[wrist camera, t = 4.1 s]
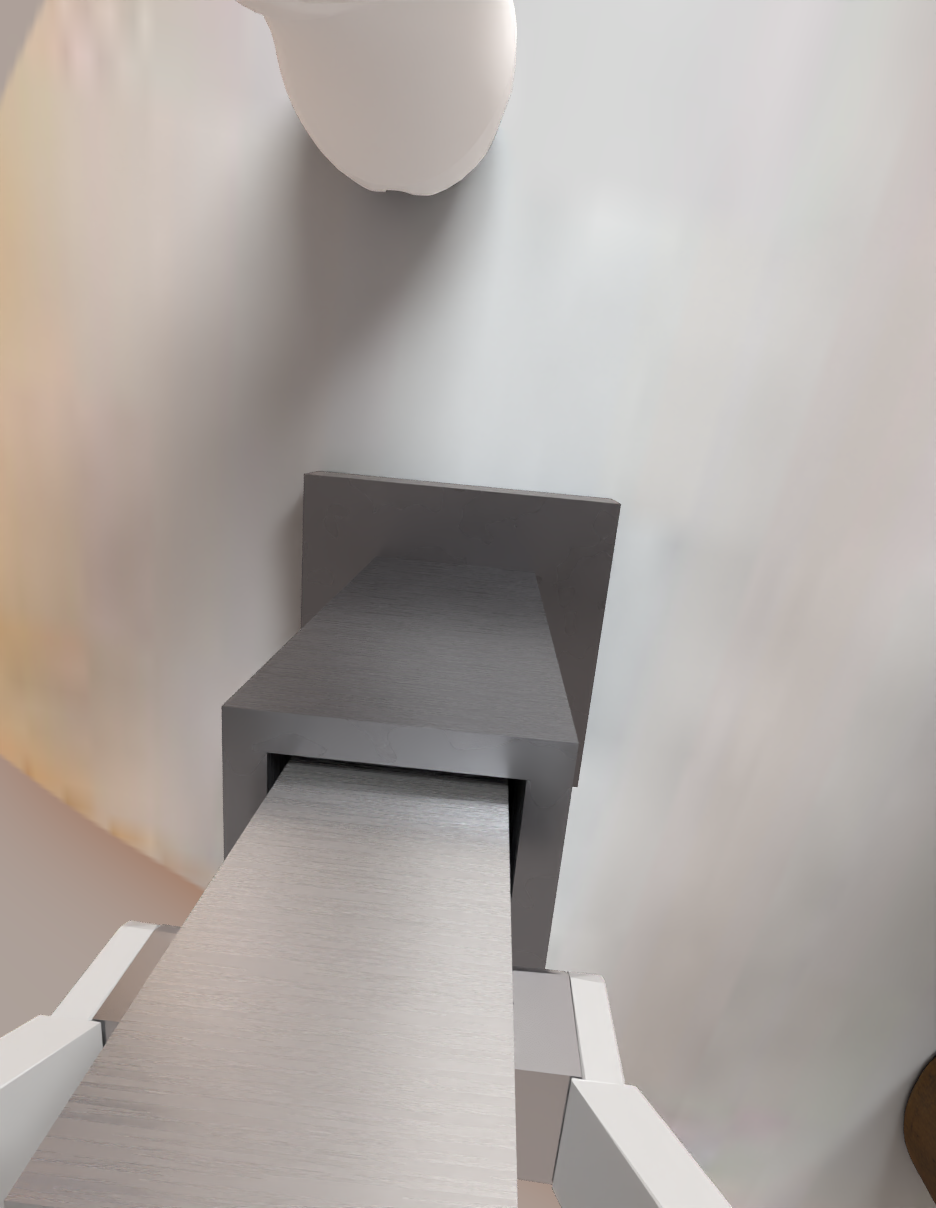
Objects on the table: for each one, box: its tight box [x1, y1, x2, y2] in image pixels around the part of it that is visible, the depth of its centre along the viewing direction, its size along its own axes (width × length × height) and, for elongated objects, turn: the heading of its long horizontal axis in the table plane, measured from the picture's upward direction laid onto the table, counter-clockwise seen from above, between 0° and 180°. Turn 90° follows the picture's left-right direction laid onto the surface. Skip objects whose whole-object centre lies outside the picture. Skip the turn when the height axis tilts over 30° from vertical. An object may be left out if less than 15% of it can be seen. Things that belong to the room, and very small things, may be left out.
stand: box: [222, 471, 621, 969], centre depth 19 cm, size 12×12×17 cm
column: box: [4, 755, 518, 1208], centre depth 15 cm, size 4×4×20 cm
